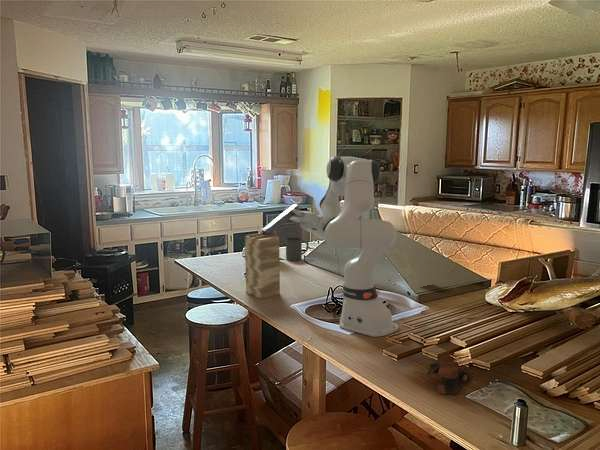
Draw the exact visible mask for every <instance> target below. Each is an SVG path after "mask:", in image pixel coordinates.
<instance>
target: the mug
mask: <svg viewBox="0 0 600 450" xmlns="http://www.w3.org/2000/svg"><path fill="white" fill-rule="evenodd" d="M302 243H305V244H306V248H305V250H304V251H302V249H303V248H302ZM308 250H309V241H307V240H302V238H301V237H286V238H285V259H286V260H287V261H291V262H292V261H293V262H296V261H301V260H302V257H303V256H302V255H304V254H305V253H307V251H308Z"/></svg>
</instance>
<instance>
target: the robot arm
mask: <svg viewBox="0 0 600 450" xmlns="http://www.w3.org/2000/svg"><path fill="white" fill-rule="evenodd" d="M325 171H326V175H327V178H328V179H329V180H330V183H329V184H328V187H327V190H326V192H325V193H324V196H323V197H322V198H321V200H320V201H319V208H320V211H321V214H322V215H318V214H316V213H314V212H312V211H302V210H300V211H298V210H296V209H293V208H292V210H291V212H292V213H295V215H294V216H292V217H291V218H290V219H289V220H291V221H293V222H297V223H299V226H300V228H301V229H303V230H304V231H306V232H308V233H310V234H312V235H313V236H315V237H316V238H318V239H321V240H323V241H325V242H326V244H328V246H329V247H331V248H334V249H335V248H336V249H340V250H361V252H360V254H358V255H357V256H355V257H353V258H351V259H349V260H348V261H347V262H346V263H345V265H344V273H343V274H344V275H343V276H344V279H343V280H344V282H343V283H344V284H342V285H343V286H342V295H343V300H342V306H341V307H342V308H341V314H340V318H339V320H338V321H339V328H341V329H344V330H348V331H351V332H355V333H359V334H363V335H365V336H369V337H373V338H376V337H383V336H384V337H385V336H387V335H390V334H393V333H395V332H397V331H398V329H399V324H397V323H395V322H393V316H392V312H391V310H390V309H389V307H387V306H386V304H385V303H384V302H383V301H382V300H381V299H380V298H379V295H378V294H380V293H381V292H380V291H381V290H380V289H379V290H377V288H376V285H375V274H376V268H377V267H376V266H377V263H378V261H379V259H380V258H381V256H382V255H383V254H384V252H386V251H387V250H388V249H389V248H391V247H392V246H393V245H394V243H395V241H396V239H397V231H396V227H395V226H394V225H393V223H392V222H390V221H387V220H383V219H378V218H377V219H362V218H359V217H361V216H363V215H365V214H367V213H369V212H370V211H371V210H372V209H373V207H374V206H375V196H374V195H375V192H374V189H375V186H374V185H376V184H377V183H378V182H379V179H380V177H381V166H380V164H379V162H378V161H377V160H374V159H367V158H362V157H356V156H350V155H349V156H348V155H347V156H341V155H333V156H331V157H330V158H329V160H328V162H327V163H326V170H325ZM340 197H343V198H344V199H343V206H341V202H340V199H339V198H340ZM288 208H289V207H285V208H284V210H283V212H284V211H286V210H287V209H288Z"/></svg>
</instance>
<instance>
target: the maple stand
mask: <svg viewBox="0 0 600 450" xmlns="http://www.w3.org/2000/svg"><path fill="white" fill-rule="evenodd" d="M244 251H245V254H244V255H245V258H244V259H245V261H244V262H245V294H249V295H252V296H253V297H256V298H258V299H261V300H262V299H268V298H272V297H276V296H279V295H281V283H280V281H281V279H280V277H281V275H280V273H281V271H280V269H281V268H280V260H281V259H280V237H279V236H276V234H275V233H271V234H267V235H263V233H262V232H260V233H252V234H248V235H244Z"/></svg>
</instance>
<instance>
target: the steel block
mask: <svg viewBox="0 0 600 450" xmlns="http://www.w3.org/2000/svg"><path fill="white" fill-rule="evenodd" d="M287 208H288V209H287V210H286V211H284V210H283V212H282V213H280V214H279V215H278V216H277V217H276V218H274V219H273V220H272V221H271V222H269V223H268V224H267V225H265V226H264V227H263V228H262V229H260V230H261V231H260V232H261V233H263V235H267V234H274V232H275V231H276V230H277V229H279V228H280V227H281V226H282V225H284V224H285V223H287V221H289V220H291V219H290V218H291V217H292V216H294V215H295V213H292V212H291V210H292V208H293V209H296V210H298V211H301V210H300V207H299V206H298V204H292V205H291V206H289V207H287Z"/></svg>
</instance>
